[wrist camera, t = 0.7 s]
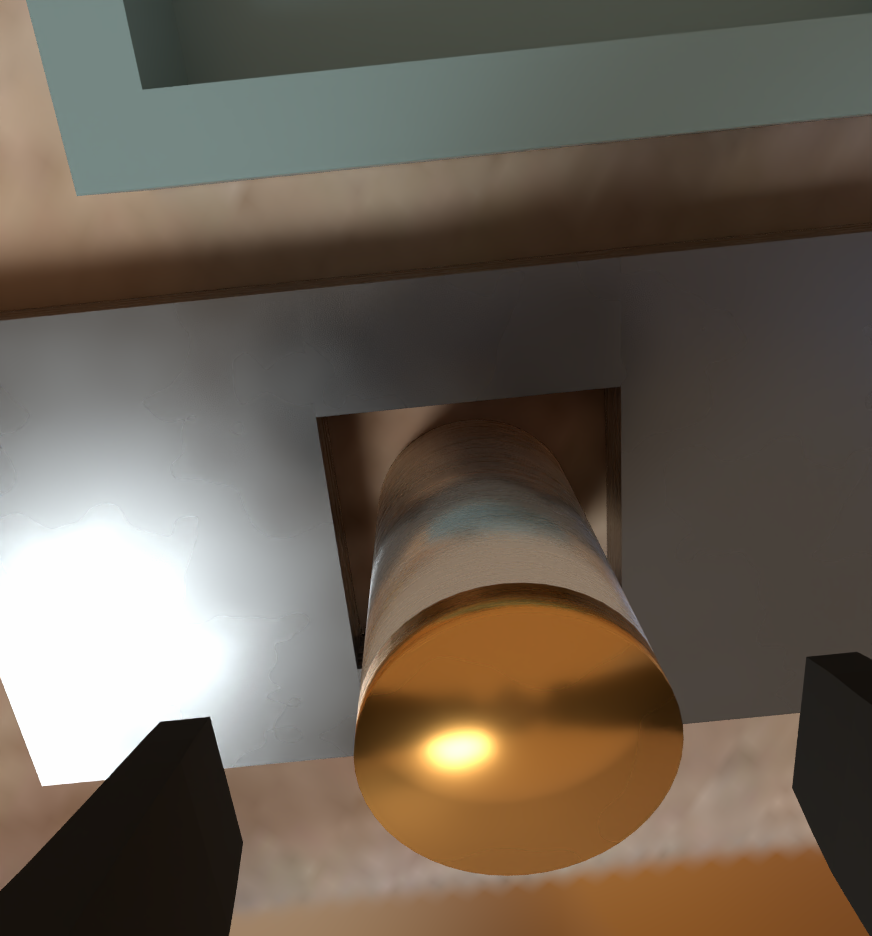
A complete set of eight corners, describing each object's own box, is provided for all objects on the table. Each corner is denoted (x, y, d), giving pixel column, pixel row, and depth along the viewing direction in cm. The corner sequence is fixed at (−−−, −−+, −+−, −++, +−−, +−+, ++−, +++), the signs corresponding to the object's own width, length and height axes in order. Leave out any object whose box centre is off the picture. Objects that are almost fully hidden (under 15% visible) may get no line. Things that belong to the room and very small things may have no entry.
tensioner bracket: (1000, 209, 14) (1053, 212, 12) (921, 663, 17) (956, 697, 16) (-87, 320, 14) (-131, 334, 13) (65, 746, 17) (41, 785, 16)
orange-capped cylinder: (567, 409, 15) (687, 597, 8) (573, 584, 16) (679, 860, 10) (366, 430, 15) (331, 632, 8) (390, 602, 16) (375, 889, 10)
